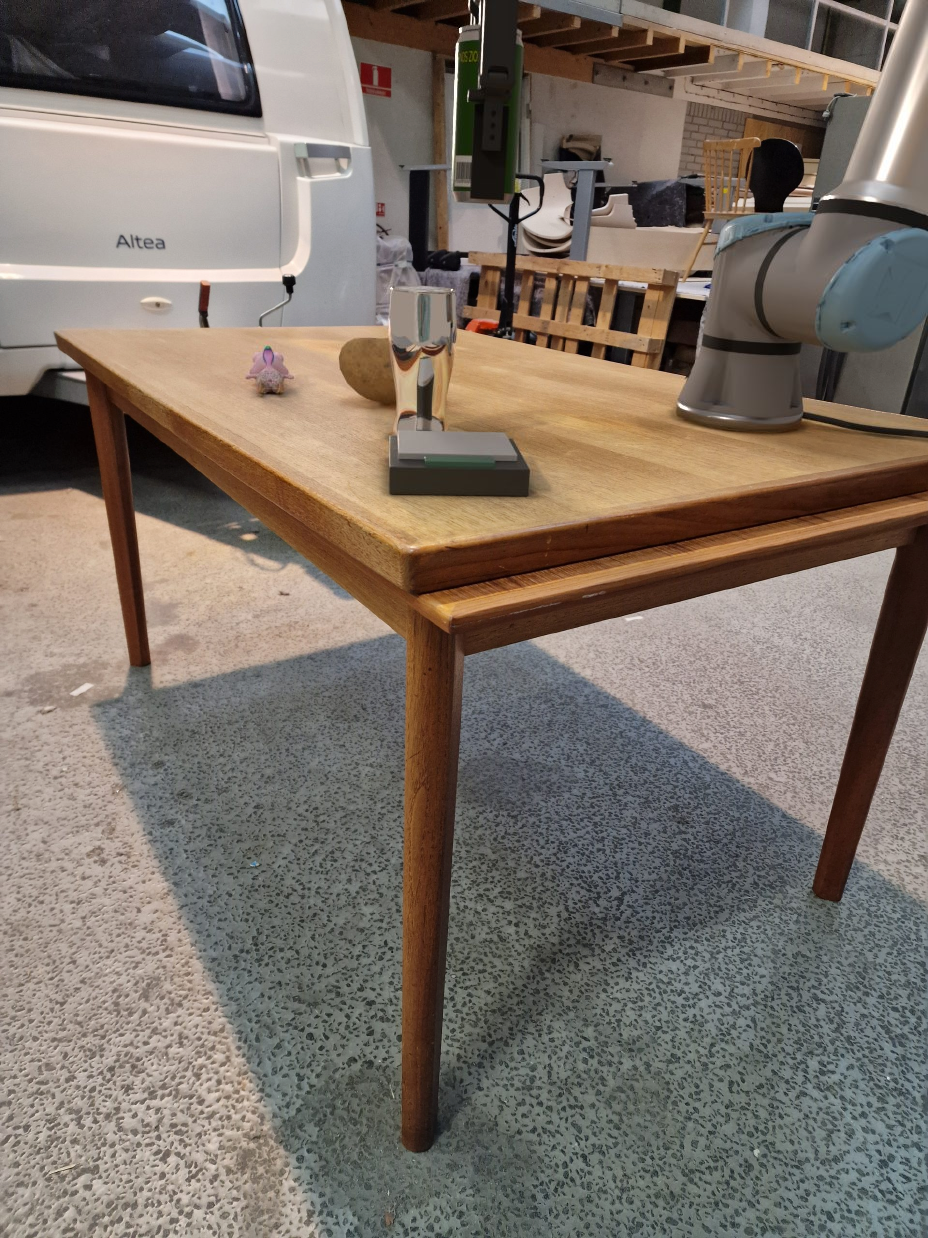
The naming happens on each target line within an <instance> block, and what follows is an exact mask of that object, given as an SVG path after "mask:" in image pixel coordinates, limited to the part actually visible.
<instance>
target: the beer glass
mask: <svg viewBox="0 0 928 1238" xmlns="http://www.w3.org/2000/svg"><path fill="white" fill-rule="evenodd" d="M457 312H458V310H457V290H456V289H455V288H452V287H451V288H450V287H444V286H443V287H442V286H431V285H430V286H429V285H394V286H391V287H390V297H389V310H388V327H387V328H388V330H387V332H388V333H387V334H388V338H389V351H390V360H391V366H392V373H393V379H394V385H395V392H396V405H395V416H394V422H393V428H392V434H391V436H398V430H411V431H449V425H448V419H447V417H448V416H447V399H448V393H449V387H450V383H451V377H452V372H453V368H454V367H453V366H454V362H455V357H456V356H455V355H456V351H457V350H456V349H457V335H458V313H457Z"/></svg>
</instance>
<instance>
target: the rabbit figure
mask: <svg viewBox="0 0 928 1238" xmlns="http://www.w3.org/2000/svg"><path fill="white" fill-rule="evenodd" d="M252 361H253V365H252V366H251V367H250V369H249V374H246V375H245V376H244V378H245V380H252V379H254V380H255V385H256V389H257V391H258V392H257V394H258V395H259V394H260V395H262V394H267V393H268V392H274V393H275V394H280V396H281V397H282V396H283V395H282V393H283V394H285V381H284V380H285V379H289V380H294V379H295V376H294V375H292V374H290V372H289V370H288V368H287V367H286V366H285V365H284V361H285V358H284V355H283V354H282V353H280V352H274V351H273V349H272V347H271V346H270V345H269V344H267V345H265V346H264V349H263V351H262V352H260V351H259V352H254V353H253V355H252Z"/></svg>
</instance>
